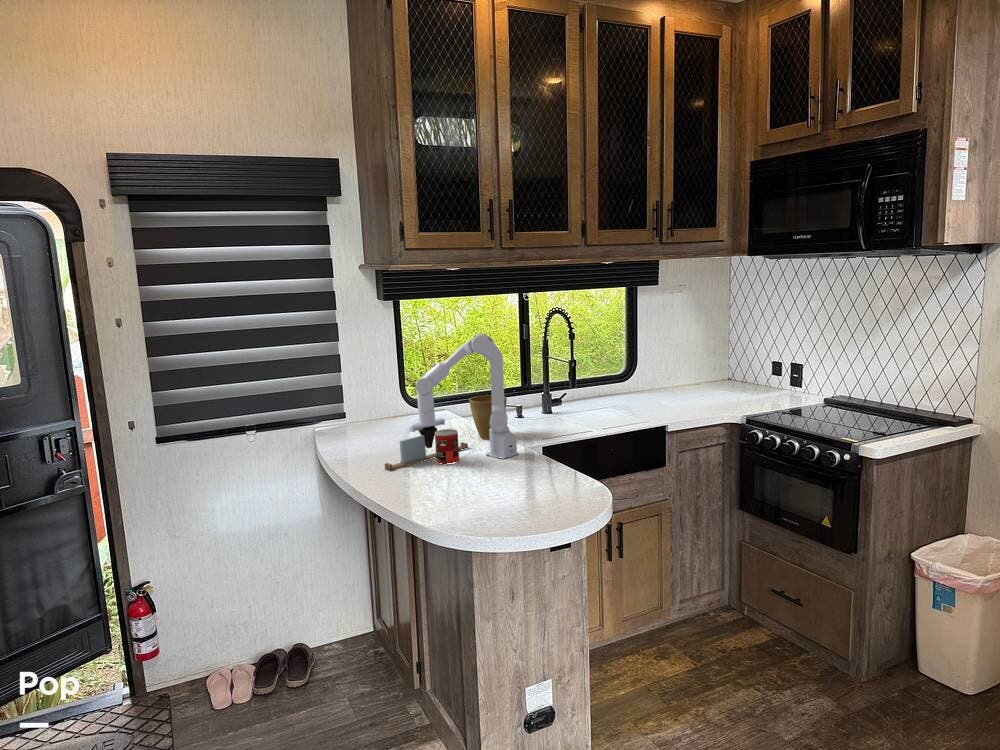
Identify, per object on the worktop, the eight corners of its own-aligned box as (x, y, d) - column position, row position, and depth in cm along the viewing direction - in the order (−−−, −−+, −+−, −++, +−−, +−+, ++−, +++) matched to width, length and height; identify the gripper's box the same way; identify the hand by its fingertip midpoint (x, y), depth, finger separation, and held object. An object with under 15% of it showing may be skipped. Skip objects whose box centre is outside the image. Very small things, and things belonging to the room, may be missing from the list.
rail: (468, 448, 260) (467, 443, 260) (389, 470, 236) (389, 465, 236) (463, 447, 262) (462, 442, 262) (385, 469, 238) (384, 463, 238)
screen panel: (426, 457, 247) (425, 435, 246) (403, 463, 241) (402, 441, 240) (423, 456, 249) (421, 434, 248) (400, 462, 242) (398, 440, 241)
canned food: (434, 461, 245) (431, 431, 244) (455, 457, 248) (453, 427, 247) (440, 466, 238) (438, 435, 237) (462, 462, 241) (460, 432, 240)
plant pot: (485, 444, 265) (483, 403, 263) (464, 438, 277) (461, 398, 274) (516, 437, 274) (514, 397, 271) (494, 431, 285) (492, 393, 283)
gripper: (435, 405, 255) (438, 441, 257) (403, 412, 245) (406, 450, 247) (447, 407, 250) (449, 444, 252) (415, 415, 240) (417, 453, 242)
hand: (429, 447), depth 249 cm, fingers closed
